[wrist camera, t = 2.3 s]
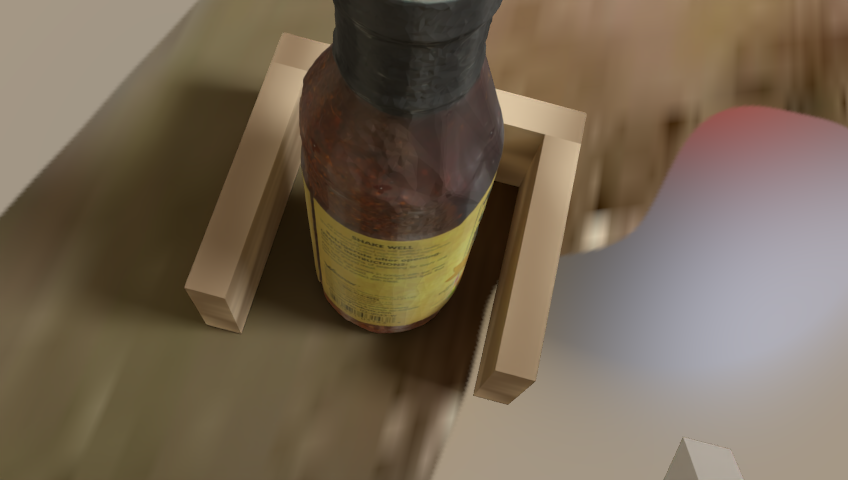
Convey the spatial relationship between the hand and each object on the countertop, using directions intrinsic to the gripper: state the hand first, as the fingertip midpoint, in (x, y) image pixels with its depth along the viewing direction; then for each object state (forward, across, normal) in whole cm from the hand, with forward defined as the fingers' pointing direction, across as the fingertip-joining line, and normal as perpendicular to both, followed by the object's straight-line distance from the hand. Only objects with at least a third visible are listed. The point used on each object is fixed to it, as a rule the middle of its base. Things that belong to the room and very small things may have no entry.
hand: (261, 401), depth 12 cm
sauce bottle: (+21, +1, -7) cm, 22 cm away
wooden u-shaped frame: (+22, +1, -6) cm, 22 cm away
